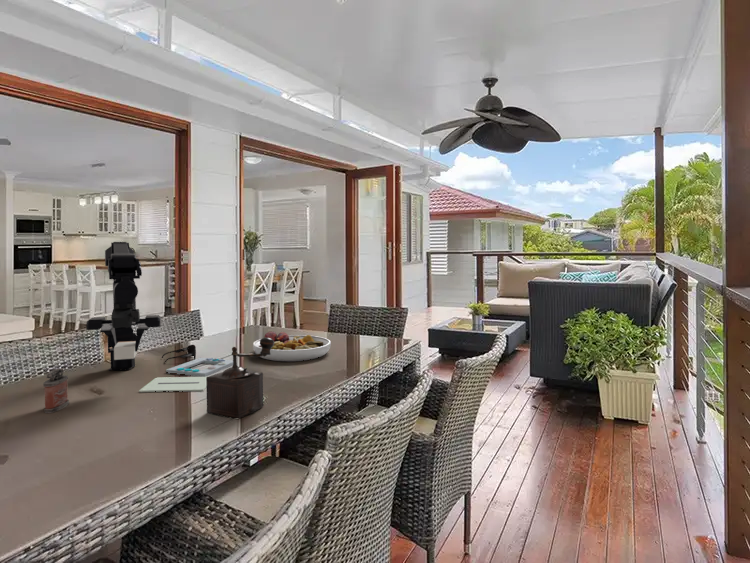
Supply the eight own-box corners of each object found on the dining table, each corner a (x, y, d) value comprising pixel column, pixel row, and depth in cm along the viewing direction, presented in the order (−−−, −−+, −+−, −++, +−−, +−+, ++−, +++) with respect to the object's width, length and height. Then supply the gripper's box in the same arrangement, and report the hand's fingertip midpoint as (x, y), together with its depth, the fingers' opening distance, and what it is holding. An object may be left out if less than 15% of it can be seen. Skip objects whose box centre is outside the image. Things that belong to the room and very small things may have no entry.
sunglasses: (200, 360, 179) (198, 347, 178) (166, 369, 172) (163, 355, 172) (193, 355, 187) (191, 342, 187) (160, 363, 181) (158, 350, 180)
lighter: (58, 402, 130) (57, 365, 129) (72, 402, 130) (70, 365, 130) (40, 412, 122) (39, 373, 121) (54, 412, 122) (53, 373, 122)
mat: (138, 392, 140) (138, 390, 140) (156, 379, 153) (156, 377, 153) (203, 391, 141) (203, 389, 141) (214, 378, 155) (214, 376, 155)
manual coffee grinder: (239, 420, 118) (239, 347, 117) (205, 413, 123) (204, 343, 122) (278, 401, 132) (277, 336, 131) (245, 396, 137) (245, 333, 136)
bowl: (345, 352, 196) (345, 333, 195) (295, 367, 170) (295, 345, 170) (289, 343, 212) (289, 326, 211) (236, 356, 186) (236, 336, 186)
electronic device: (200, 356, 178) (236, 359, 174) (200, 362, 178) (236, 365, 174) (166, 368, 161) (205, 372, 156) (166, 375, 161) (205, 379, 157)
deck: (114, 359, 136) (113, 347, 136) (118, 353, 143) (118, 341, 143) (134, 358, 138) (133, 346, 137) (137, 352, 145) (137, 340, 145)
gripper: (81, 302, 129) (83, 360, 130) (158, 300, 135) (159, 355, 136) (89, 298, 139) (91, 351, 140) (160, 296, 145) (161, 347, 147)
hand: (126, 351), depth 140 cm, fingers closed on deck, 5 cm apart
